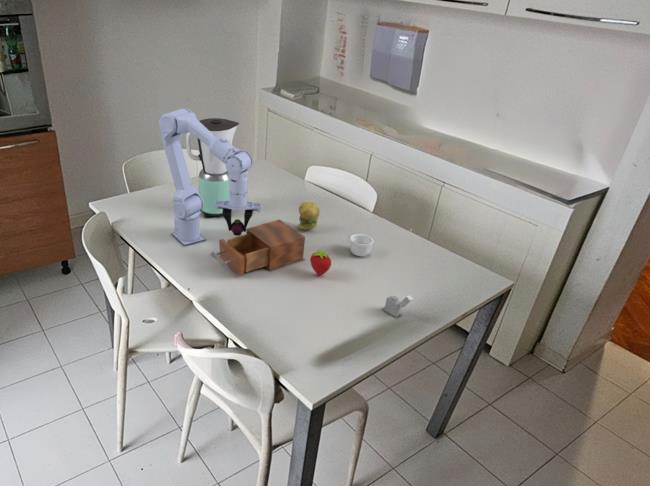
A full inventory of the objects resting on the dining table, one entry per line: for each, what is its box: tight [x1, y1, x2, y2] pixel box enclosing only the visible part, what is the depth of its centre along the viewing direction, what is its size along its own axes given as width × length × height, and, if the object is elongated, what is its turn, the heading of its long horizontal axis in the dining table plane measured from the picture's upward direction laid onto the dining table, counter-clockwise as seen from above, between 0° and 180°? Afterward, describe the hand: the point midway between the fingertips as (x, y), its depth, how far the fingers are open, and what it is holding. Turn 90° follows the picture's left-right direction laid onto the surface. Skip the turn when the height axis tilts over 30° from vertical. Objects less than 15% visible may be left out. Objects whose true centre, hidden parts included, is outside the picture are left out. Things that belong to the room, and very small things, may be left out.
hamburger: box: [297, 201, 321, 231], centre depth 188 cm, size 8×7×12 cm
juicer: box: [185, 117, 240, 218], centre depth 193 cm, size 19×13×35 cm
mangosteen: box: [230, 218, 244, 237], centre depth 169 cm, size 4×4×5 cm
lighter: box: [383, 294, 414, 318], centre depth 148 cm, size 7×2×8 cm, turn 39°
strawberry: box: [309, 249, 332, 277], centre depth 163 cm, size 6×8×10 cm
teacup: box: [346, 233, 374, 258], centre depth 178 cm, size 10×8×5 cm
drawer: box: [210, 233, 270, 277], centre depth 167 cm, size 17×13×7 cm
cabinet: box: [245, 219, 306, 271], centre depth 174 cm, size 14×14×9 cm
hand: (237, 229), depth 169 cm, fingers closed on mangosteen, 4 cm apart
